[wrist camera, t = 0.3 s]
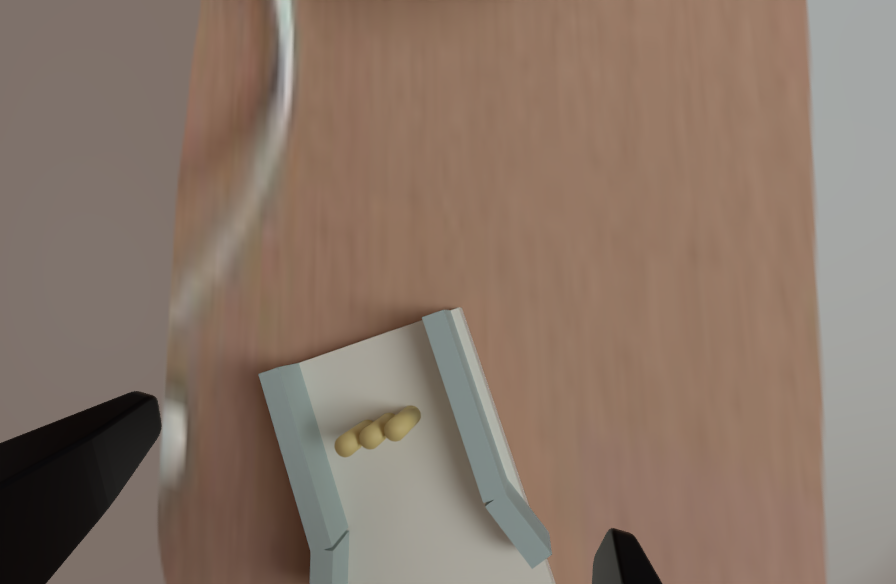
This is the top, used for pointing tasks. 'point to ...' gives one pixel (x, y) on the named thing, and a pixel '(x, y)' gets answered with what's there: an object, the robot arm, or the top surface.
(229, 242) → the top surface
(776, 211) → the top surface
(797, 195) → the top surface
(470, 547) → the board
